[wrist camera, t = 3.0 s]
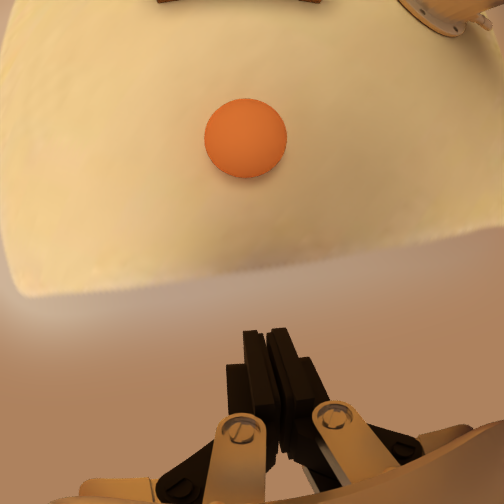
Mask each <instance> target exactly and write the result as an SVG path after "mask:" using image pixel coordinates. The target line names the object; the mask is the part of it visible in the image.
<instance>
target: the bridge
mask: <svg viewBox="0 0 504 504" xmlns="http://www.w3.org/2000/svg"><path fill="white" fill-rule="evenodd" d="M170 1H177V0H157V2H158V3H163V2H170ZM300 1H307V2H314V3H320V2H321V1H322V0H300Z"/></svg>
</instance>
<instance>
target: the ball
mask: <svg viewBox="0 0 504 504" xmlns="http://www.w3.org/2000/svg"><path fill="white" fill-rule="evenodd" d="M204 140H205V147H206V151H207V153H208V156H209V157H210V159H211V160H212V162H213V163H214V164H215V165H216V166H217V167H218V168H219V169H220V170H222V171H223V172H225V173H227V174H229V175H232V176H235V177H241V178H249V177H255V176H259V175H262V174H264V173H266V172H268V171H269V170H271V169H272V168H273V167H274V166H275V165H276V164H277V163H278V162H279V161H280V159H281V158H282V156H283V154H284V151H285V148H286V143H287V133H286V128H285V125H284V122H283V120H282V119H281V117H280V116H279V114H278V113H277V112H276V111H275V110H274V109H273V108H272V107H270V106H269V105H267V104H266V103H263V102H261V101H258V100H254V99H238V100H234V101H231V102H228V103H226V104H224V105H223V106H221V107H220V108H219V109H218V110H216V111H215V113H214V114H213V115H212V116H211V118H210V119H209V121H208V123H207V126H206V129H205V137H204Z"/></svg>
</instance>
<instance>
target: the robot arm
mask: <svg viewBox="0 0 504 504" xmlns="http://www.w3.org/2000/svg"><path fill="white" fill-rule="evenodd" d="M399 1H400V2H401V3H402V4H403V5H404V6H405V7H406V9H408V10H409V11H410V12H411V13H412V14H413V15H414V16H415V17H416V18H418V19H419V20H420V21H421V22H422V23H424V24H425V25H427V26H428V27H430V28H431V29H433V30H435V31H436V32H438V33H440V34H443V35H445V36H450V37H455V36H458V35H461V34H462V33H463V32H464V31H465V29H466V22H468V21H471V22H473V23H474V22H476V23H477V24H478V25H480V26H481V27H482V28H484V29H485V30H487V31H489V30H491V29H492V23H491V21H490V20H488V19H487V18H486V17H485V16H483V15H481V14H480V13H481V12H483V11H486V10H488V9H491V8H494V7H497V6H500V5H502V4H504V0H399ZM266 339H267V340H266V343H265V340H264V336H263V333H259V334H258V332H257V330H251V331H243V341H244V342H243V343H244V362H245V364H230V365H226V375H227V395H228V413H229V416H227V417H225V418H223V419H222V420H221V421H220V422H219V424H218V426H217V428H216V433H215V439H214V440H212V441H211V442H210V443H208V444H207V445H206V446H204V447H203V448H202V449H200V450H199V451H198V452H196V453H195V454H194V455H192V456H191V457H189V458H188V459H186V460H185V461H184V462H182V463H181V464H179V465H178V466H176V467H175V468H173V469H172V470H170V471H169V472H167V473H166V474H164V475H163V476H162V477H161V478H160V479H149V477H144V478H118V479H104V478H94V479H89V480H87V481H85V482H83V484H82V485H81V486H80V489H79V496H74V497H65V498H61V499H57V500H54V501H51V502H50V503H48V504H504V420H500V421H496V422H492V423H488V424H485V425H483V426H480V427H478V428H476V429H473V428H472V427H470V426H469V425H465V424H460V425H456V426H452V427H449V428H445V429H441V430H438V431H434V432H430V433H425V434H421V435H419V436H418V438H414V437H411V436H409V435H404V434H401V433H397V432H393V431H390V430H386V429H384V428H380V427H377V426H374V425H371V424H367V423H366V422H365V421H364V420H363V418H362V417H361V416H360V415H359V413H358V412H357V411H356V409H354V407H352V406H351V405H350V404H348V403H346V402H343V401H338V400H337V401H336V400H333V401H332V400H331V401H330V399H329V397H328V395H327V392H326V390H325V388H324V386H323V384H322V382H321V380H320V377H319V375H318V373H317V371H316V369H315V367H314V365H313V363H312V361H311V359H310V357H302V358H299V357H298V355H297V353H296V350H295V348H294V345H293V343H292V341H291V338H290V336H289V333H288V331H287V329H286V328H275V329H272V330H271V332H270V333H267V336H266ZM278 444H280V448H281V452H282V453H286V452H287V454H288V458H289V460H290V459H294V461H295V462H297V463H299V464H301V465H302V469H303V471H304V473H305V475H306V477H307V479H308V481H309V483H310V485H311V487H312V489H313V491H314V492H315V494H312V495H307V496H302V497H297V498H291V499H286V500H278V501H271V502H265V475H266V473H267V472H268V471H269V470H270V469H271V467H273V466H274V465H275V461H276V454H277V453H278Z"/></svg>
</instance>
